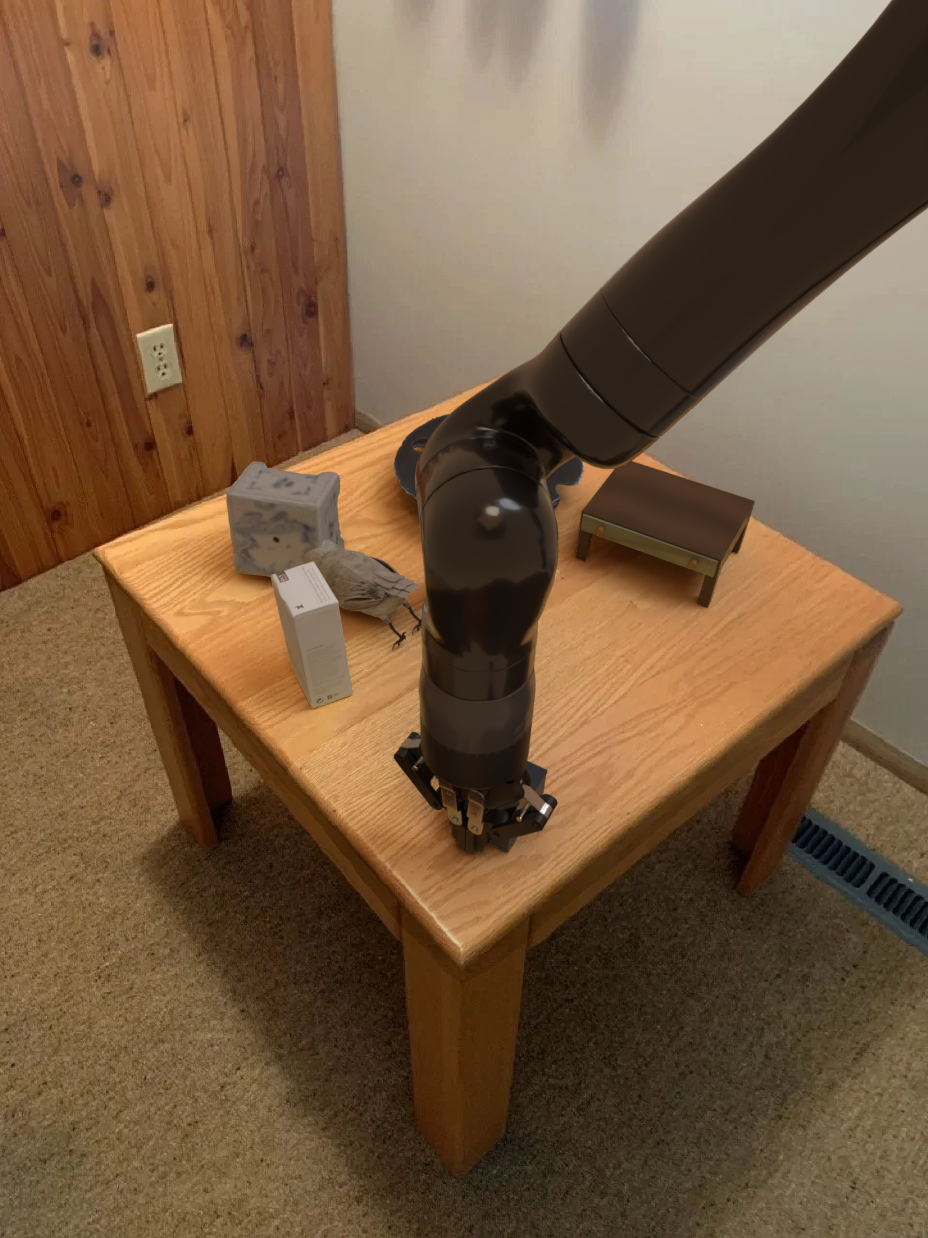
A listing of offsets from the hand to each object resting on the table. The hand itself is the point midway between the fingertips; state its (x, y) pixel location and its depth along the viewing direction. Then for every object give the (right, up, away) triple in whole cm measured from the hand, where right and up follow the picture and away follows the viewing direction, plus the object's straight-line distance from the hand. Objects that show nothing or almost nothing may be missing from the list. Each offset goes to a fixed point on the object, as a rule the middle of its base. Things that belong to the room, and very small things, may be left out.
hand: (471, 843), depth 72 cm
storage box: (+2, +2, +4) cm, 5 cm away
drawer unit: (+21, +25, +27) cm, 42 cm away
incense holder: (-19, +24, +25) cm, 39 cm away
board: (+2, +32, +34) cm, 47 cm away
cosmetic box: (-14, +12, +13) cm, 23 cm away
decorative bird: (-11, +19, +20) cm, 30 cm away
